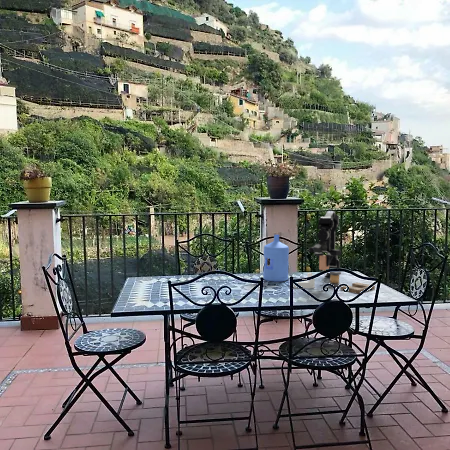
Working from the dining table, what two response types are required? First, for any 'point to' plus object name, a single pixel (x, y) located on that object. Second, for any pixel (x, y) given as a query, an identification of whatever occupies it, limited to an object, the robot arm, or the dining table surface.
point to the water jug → (276, 261)
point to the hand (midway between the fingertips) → (324, 266)
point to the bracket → (307, 282)
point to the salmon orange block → (323, 262)
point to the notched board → (357, 287)
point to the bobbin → (334, 278)
